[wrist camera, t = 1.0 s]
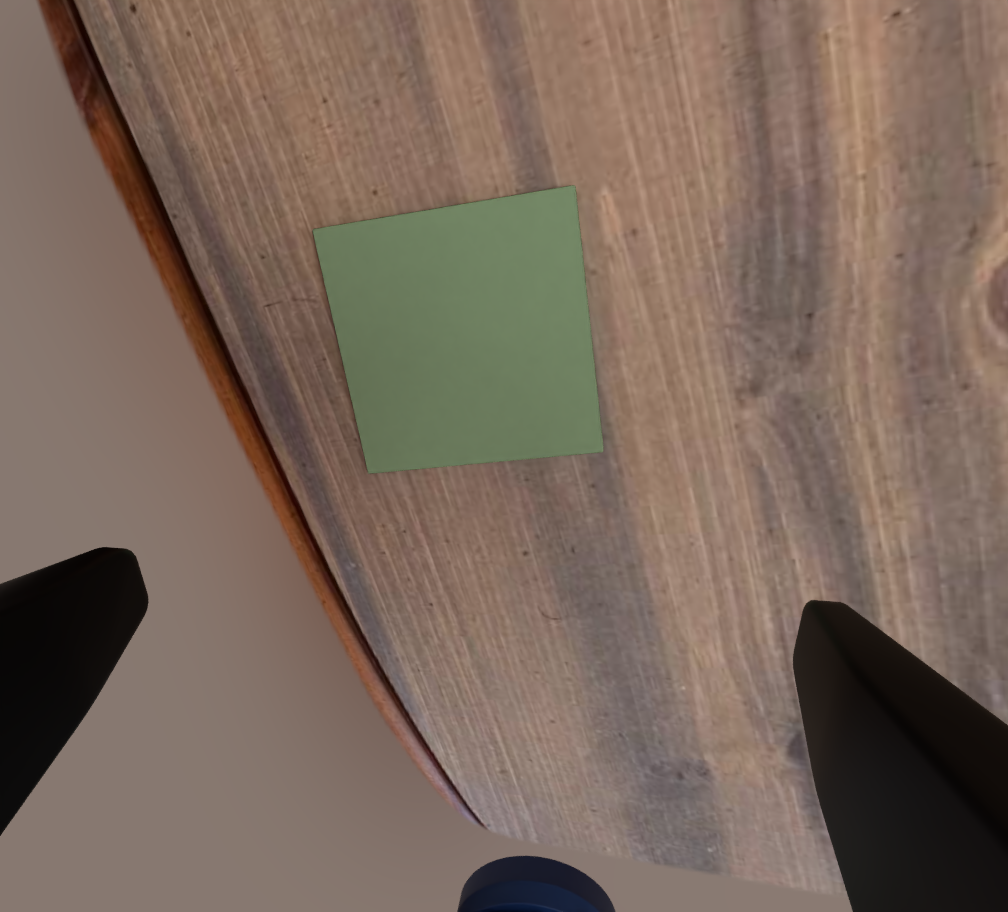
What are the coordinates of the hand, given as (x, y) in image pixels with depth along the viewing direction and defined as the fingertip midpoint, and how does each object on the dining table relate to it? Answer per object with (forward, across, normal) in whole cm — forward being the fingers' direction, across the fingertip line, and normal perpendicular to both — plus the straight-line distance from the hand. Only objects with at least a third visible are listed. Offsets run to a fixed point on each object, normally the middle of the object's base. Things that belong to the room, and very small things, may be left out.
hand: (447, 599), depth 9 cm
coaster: (+13, +2, 0) cm, 13 cm away
